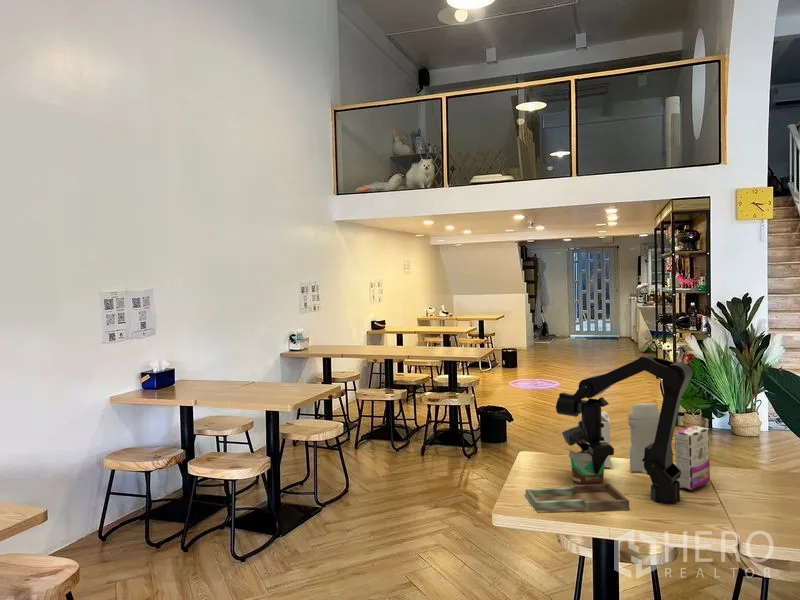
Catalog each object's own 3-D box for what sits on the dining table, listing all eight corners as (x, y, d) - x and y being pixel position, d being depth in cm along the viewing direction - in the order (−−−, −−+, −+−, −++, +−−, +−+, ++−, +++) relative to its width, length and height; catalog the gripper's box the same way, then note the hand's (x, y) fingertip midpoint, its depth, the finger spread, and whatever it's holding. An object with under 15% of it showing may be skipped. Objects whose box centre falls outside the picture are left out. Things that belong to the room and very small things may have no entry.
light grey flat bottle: (659, 468, 186) (659, 401, 185) (665, 472, 182) (664, 403, 181) (626, 468, 187) (625, 401, 186) (631, 473, 183) (630, 404, 182)
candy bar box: (693, 477, 177) (693, 424, 177) (710, 482, 173) (710, 428, 173) (674, 486, 171) (674, 431, 170) (691, 490, 167) (691, 434, 166)
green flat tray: (609, 492, 167) (609, 483, 167) (629, 510, 154) (629, 500, 154) (524, 496, 166) (524, 487, 165) (537, 514, 153) (537, 505, 152)
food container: (580, 489, 170) (579, 456, 169) (568, 482, 176) (568, 450, 175) (616, 484, 173) (616, 451, 172) (603, 477, 179) (603, 445, 178)
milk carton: (587, 466, 190) (587, 409, 189) (587, 460, 197) (587, 404, 196) (610, 468, 188) (610, 410, 187) (610, 461, 194) (609, 405, 194)
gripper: (555, 412, 183) (555, 461, 183) (576, 428, 164) (576, 482, 165) (589, 411, 183) (590, 459, 184) (614, 426, 164) (615, 480, 165)
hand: (591, 469), depth 174 cm, fingers closed on food container, 6 cm apart
